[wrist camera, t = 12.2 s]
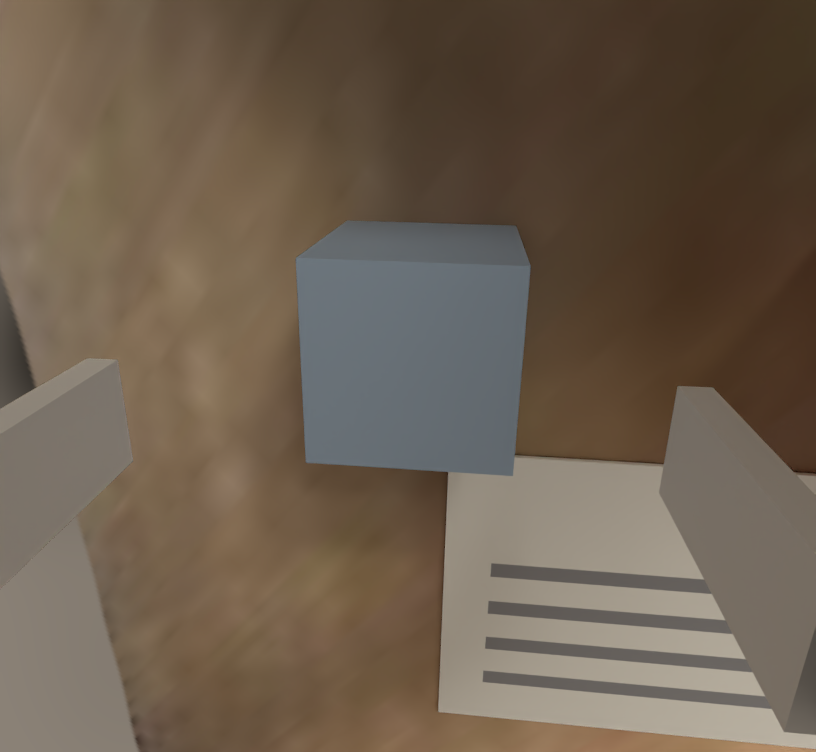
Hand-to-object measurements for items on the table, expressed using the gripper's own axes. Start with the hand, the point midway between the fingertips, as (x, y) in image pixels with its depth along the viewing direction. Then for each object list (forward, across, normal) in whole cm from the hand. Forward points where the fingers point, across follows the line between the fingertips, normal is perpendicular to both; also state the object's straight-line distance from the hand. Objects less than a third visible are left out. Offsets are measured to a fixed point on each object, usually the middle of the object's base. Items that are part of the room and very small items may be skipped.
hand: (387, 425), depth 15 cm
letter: (+10, +10, -12) cm, 19 cm away
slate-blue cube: (+10, 0, 0) cm, 10 cm away
